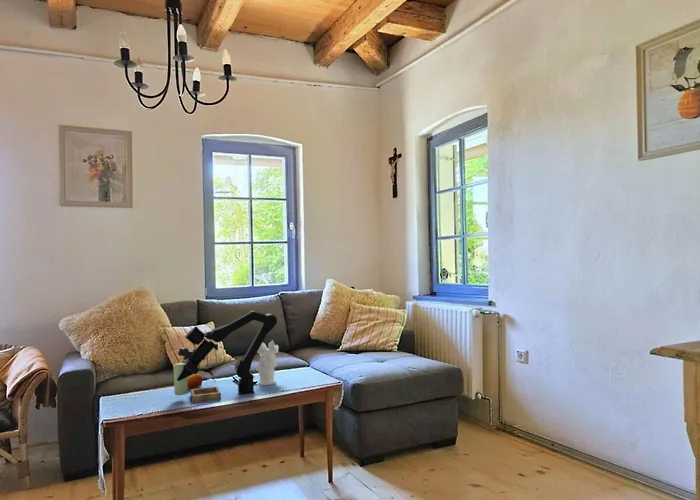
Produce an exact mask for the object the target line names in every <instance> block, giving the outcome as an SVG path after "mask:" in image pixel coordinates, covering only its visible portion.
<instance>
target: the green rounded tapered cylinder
mask: <svg viewBox="0 0 700 500" xmlns="http://www.w3.org/2000/svg"><path fill="white" fill-rule="evenodd" d="M184 365H185V363H183V362H178V363H174V364H173V388H174V395H175V396H184V395H187V394H188V391H189V390H188V389H189V388H188V386H187V378H188V377H186V378H184V379H182V380H180V381H178V380H177V379H178V377H179V375H180V374H181V372H182V371H183V369H184Z"/></svg>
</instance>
